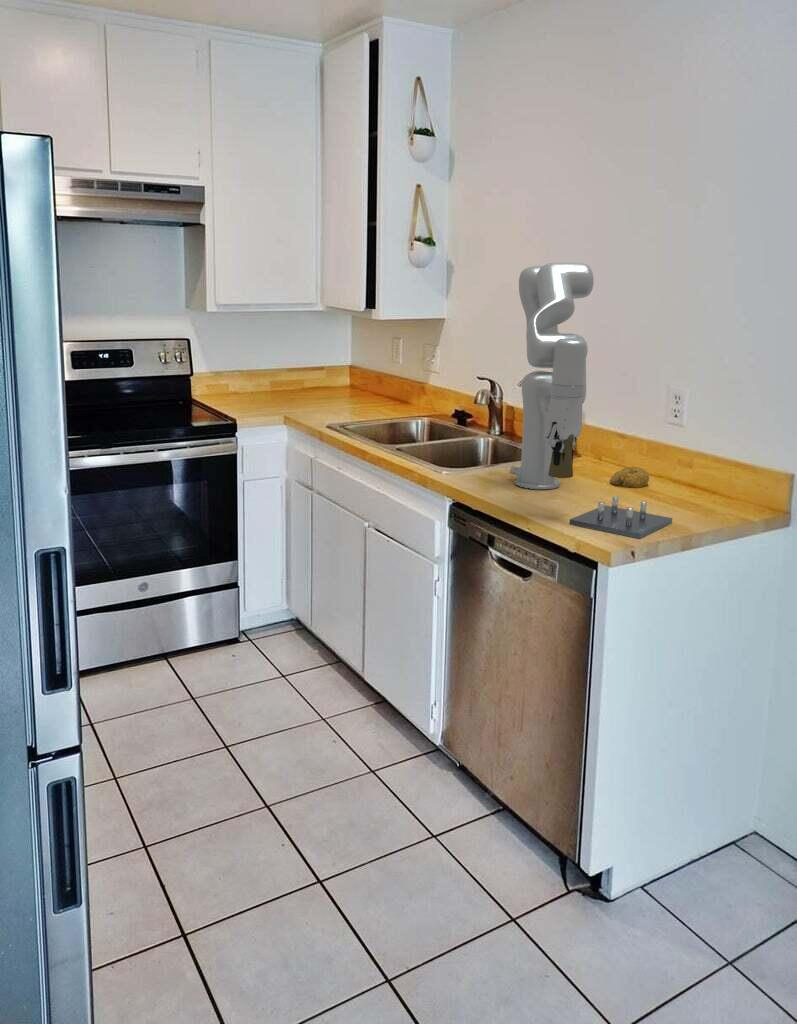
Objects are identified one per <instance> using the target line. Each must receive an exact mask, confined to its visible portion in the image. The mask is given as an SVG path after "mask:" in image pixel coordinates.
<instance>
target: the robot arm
mask: <svg viewBox="0 0 797 1024" xmlns="http://www.w3.org/2000/svg"><path fill="white" fill-rule="evenodd" d="M594 279H595V278H594V274H593V270H592V269H591V267H590V265H588V264H587V263H582V262H551V263H546V264H544V265H536V266H529V267H526V268H524V269H522V270H521V272H520V275H519V278H518V293H519V299H520V302H521V305H522V309H523V311H524V314H525V319H526V333H525V335H526V358H527V362H528V364H529V365H530V367H533V368H538V369H552V371H535V372H530V373H529V374H526V375H525V376H524V378H523V379H522V381H521V396H522V397H521V398H522V409H523V410H522V411H523V412H522V413H523V415H522V416H523V417H522V438H521V440H522V441H521V443H522V444H521V455H520V456H521V459H520V460H521V461H520V466H514V465H512V466H510V467H509V468H510V469H509V474H511V475H516V478H515V479H514V485H516V486H517V485H518V486H517V487H519V486H520V488H523V487H524V488H523V489H528V488H529V489H530V490H552V489H557V488H559V486H560V484H561V483H560V480H559V479H558V478H555V477H551V476H549V475H548V473H549V468H550V463H551V458H553V454H554V458H553V464H554V465H556V466H558V465H559V464H560V456H561V453H562V455H563V462H564V456H565V453H563V452H564V440H566V439H568V437H569V436H570V435H571V434H573V435H574V442H573V443H572V445H571V448H572V465H573V464H574V450H575V447H576V442H577V439H578V438H579V437H580V434H581V432H582V425H583V404H584V403H585V400H586V398H587V397H586V396H587V355H588V352H589V351H588V348H589V347H588V342H587V341H586V339H585V338H584V337H583V335H579V334H575V333H562V332H561V333H560V332H559V330H558V327H559V325H560V324H563V323H565V322H566V321H568V320H570V318H572V316H573V314H575V313H574V312H575V309H576V308H575V306H576V305H575V301H574V299H582V298H587V297H589V295H590V294H591V293H592V291H593V288H594V282H595V281H594ZM557 436H558V437H559V439H560V440H558V439H556V437H557ZM557 442H561V444H560V445H559V443H557ZM556 461H557V462H556Z"/></svg>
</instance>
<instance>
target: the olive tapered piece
mask: <svg viewBox="0 0 797 1024" xmlns="http://www.w3.org/2000/svg"><path fill="white" fill-rule="evenodd" d="M556 439H558V440H560V439H559V437H558V436H557V437H556ZM573 442H574V435H573V434H571V435H570V436H569V437H568V439H566V440H564V452H563V453H565V456H564V462H563V455H562V453H561V456H560V464H559V465H558V466H556V465H554V464H553V458H554V454H553V458H551V463H550V468H549V473H548V475H549V476H551V477H554V479H570V478H573V477H574V468H573V465H572V450H573V449H572V448H571V445H572V443H573ZM557 443H559V445H560V444H561V442H557ZM556 462H557V461H556Z"/></svg>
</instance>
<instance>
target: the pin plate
mask: <svg viewBox="0 0 797 1024" xmlns="http://www.w3.org/2000/svg"><path fill="white" fill-rule="evenodd" d="M611 500H612V501H611V506H610V505H605V502H604V501H603V502H602V501H599V502H598V505H597V508H594V509H592V510H590V511H587V512H585V513H581V514H580V515H577V516H575V517H572V518H570V519H569V525H571V524H573V526H576V525H577V526H576V527H581V526H582V528H585V527H588V528H587V529H590V528H591V530H595V529H596V530H595V531H600V530H601V532H605V533H609V532H610V534H615V535H619V536H625V537H630V538H634V539H637V540H640V539H642V538H644V537H646V536H648V535H650V534H652V533H654V532H657V531H658V530H660V529H662V528H665V527H667V526H669V525H671V524H672V523H673V517H669V516H663V515H657V514H653V513H649V512H648V513H647V506H648V505H647V504H648V503H647V502H646V501H641V502H640V507H639V508H640V510H639V511H638V510H634V507H626V508H623V507H622V508H621V507H619V496H612V499H611Z"/></svg>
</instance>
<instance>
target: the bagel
mask: <svg viewBox="0 0 797 1024" xmlns="http://www.w3.org/2000/svg"><path fill="white" fill-rule="evenodd" d="M649 481H650V475H649V473H648V472H647V470H646V469H644V468H643V467H639V466H627V467H626V466H625V467H623V468H622V469H621V470H618V471H616V472H615V473H613V474H612V476H611V477H610V479H609V483H610V485H613V484H614V485H615V486H619V487H621V486H622V487H624V488H628V489H629V488H631V489H638V488H643V487H645V486H646V485H648V483H649Z"/></svg>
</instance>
